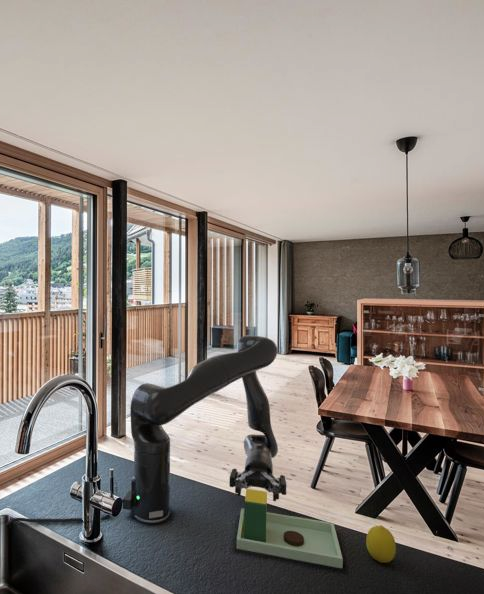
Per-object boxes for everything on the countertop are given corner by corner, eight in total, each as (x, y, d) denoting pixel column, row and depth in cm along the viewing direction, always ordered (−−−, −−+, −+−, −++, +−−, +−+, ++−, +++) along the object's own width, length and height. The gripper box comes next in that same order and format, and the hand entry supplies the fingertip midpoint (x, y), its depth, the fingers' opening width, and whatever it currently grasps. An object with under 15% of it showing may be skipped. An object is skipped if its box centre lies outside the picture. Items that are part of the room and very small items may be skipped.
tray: (236, 550, 91) (236, 539, 91) (241, 518, 104) (241, 507, 104) (342, 571, 85) (342, 558, 85) (333, 533, 98) (333, 522, 98)
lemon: (399, 573, 85) (400, 535, 84) (370, 569, 86) (371, 531, 86) (389, 556, 90) (390, 520, 90) (362, 552, 91) (363, 517, 91)
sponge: (243, 541, 94) (244, 502, 94) (245, 524, 100) (246, 488, 100) (265, 545, 92) (266, 505, 92) (266, 528, 99) (266, 491, 99)
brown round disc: (283, 544, 93) (283, 540, 93) (283, 533, 97) (283, 529, 97) (304, 548, 92) (304, 543, 92) (303, 536, 96) (303, 532, 96)
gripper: (233, 451, 119) (227, 475, 103) (285, 457, 115) (287, 484, 99) (233, 476, 119) (227, 505, 103) (284, 484, 115) (286, 514, 99)
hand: (256, 494), depth 101 cm, fingers open, 8 cm apart
